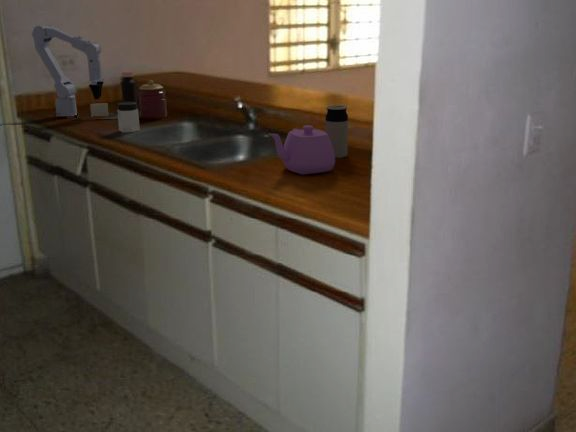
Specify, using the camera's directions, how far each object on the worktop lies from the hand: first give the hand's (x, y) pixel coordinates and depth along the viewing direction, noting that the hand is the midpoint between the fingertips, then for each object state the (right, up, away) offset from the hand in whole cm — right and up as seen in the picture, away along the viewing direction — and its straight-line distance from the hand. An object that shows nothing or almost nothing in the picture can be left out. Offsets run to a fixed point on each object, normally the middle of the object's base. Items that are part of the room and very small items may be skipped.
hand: (97, 98), depth 326 cm
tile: (0, -8, +3) cm, 9 cm away
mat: (+1, -9, +2) cm, 9 cm away
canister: (+27, -9, +1) cm, 28 cm away
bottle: (+13, -5, +13) cm, 19 cm away
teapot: (+98, -41, -97) cm, 144 cm away
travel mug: (+109, -35, -79) cm, 139 cm away
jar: (+22, -20, -30) cm, 42 cm away
